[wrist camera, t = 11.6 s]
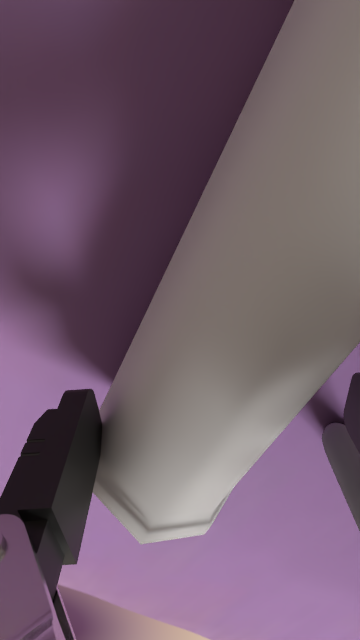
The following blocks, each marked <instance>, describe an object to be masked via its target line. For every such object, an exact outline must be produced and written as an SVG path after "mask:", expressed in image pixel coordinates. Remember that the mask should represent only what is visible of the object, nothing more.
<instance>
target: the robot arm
mask: <svg viewBox="0 0 360 640" xmlns="http://www.w3.org/2000/svg"><path fill="white" fill-rule="evenodd" d="M344 422H345V426H346V429H347V432H348V434H349V435H350V437H351V439H352V441H353V443H354V445H355V446H356V448H357V450H358V452H359V454H360V373H355V374H354V375H353V376H352V379H351V383H350V388H349V392H348V396H347V400H346V404H345V409H344ZM101 440H102V421H101V417H100V413H99V409H98V405H97V402H96V398H95V394H94V391H93V390H92V389H81V390H67V391H65V392H64V394H63V396H62V399H61V401H60V404H59V406H58V409H48V410H47V411H46V412H45V413H44V414H43V415H42V416H41V417H40V418H39V419H38V420H37V421H36V422H35V423H34V425H33V428H32V430H31V432H30V434H29V436H28V439H27V443H25V445H24V447H23V449H22V452H21V457H19V458H18V460H17V463H16V465H15V467H14V469H13V471H12V473H11V476H10V478H9V480H8V482H7V484H6V487H5V489H4V491H3V493H2V495H1V497H0V640H76V638H75V635H74V632H73V629H72V626H71V623H70V620H69V617H68V614H67V612H66V609H65V606H64V603H63V600H62V597H61V594H60V591H59V588H58V586H57V584H58V580H59V576H60V572H61V568H62V565H69V564H77V560H78V556H79V551H80V547H81V542H82V538H83V533H84V528H85V524H86V519H87V515H88V510H89V506H90V501H91V497H92V492H93V487H94V483H95V478H96V474H97V469H98V465H99V460H100V456H101Z"/></svg>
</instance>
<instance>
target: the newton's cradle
mask: <svg viewBox="0 0 360 640" xmlns="http://www.w3.org/2000/svg"><path fill="white" fill-rule="evenodd" d="M322 442H323V446H324V449H325V452H326V455H327V457H328V460H329V462H330V465H331V467H332V469H333V471H334V474H335V476H336V478H337V481H338V483H339V485H340V487H341V490H342V492H343V494H344V496H345V499H346V501H347V503H348V506H349V508H350V510H351V512H352V515H353V517H354V519H355V521H356V524H357V526H358V528H359V531H360V454H359V452H358V450H357V448H356V446H355V445H354V443H353V441H352V439H351V437H350V435H349V434H348V432H347V429H346V426H345V425H343V424H341V423H331V424H329V425H328V426H327V427H326V428H325V429H324V432H323V434H322Z"/></svg>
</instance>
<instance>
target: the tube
mask: <svg viewBox="0 0 360 640" xmlns="http://www.w3.org/2000/svg"><path fill="white" fill-rule="evenodd" d="M359 342H360V0H294V2H293V4H292V7H291V9H290V11H289V13H288V15H287V17H286V19H285V21H284V23H283V25H282V28H281V30H280V32H279V34H278V36H277V38H276V40H275V42H274V44H273V46H272V49H271V51H270V53H269V55H268V57H267V59H266V61H265V63H264V65H263V67H262V70H261V72H260V74H259V76H258V78H257V80H256V82H255V84H254V86H253V88H252V91H251V93H250V95H249V97H248V99H247V101H246V103H245V105H244V107H243V110H242V112H241V114H240V116H239V118H238V120H237V122H236V124H235V126H234V128H233V131H232V133H231V135H230V137H229V139H228V141H227V143H226V145H225V147H224V149H223V152H222V154H221V156H220V158H219V160H218V162H217V164H216V166H215V168H214V170H213V173H212V175H211V177H210V179H209V181H208V183H207V185H206V187H205V189H204V191H203V194H202V196H201V198H200V200H199V202H198V204H197V206H196V208H195V210H194V212H193V215H192V217H191V219H190V221H189V223H188V225H187V227H186V229H185V231H184V234H183V236H182V238H181V240H180V242H179V244H178V246H177V248H176V250H175V252H174V255H173V257H172V259H171V261H170V263H169V265H168V267H167V269H166V271H165V273H164V276H163V278H162V280H161V282H160V284H159V286H158V288H157V290H156V292H155V294H154V297H153V299H152V301H151V303H150V305H149V307H148V309H147V311H146V313H145V315H144V318H143V320H142V322H141V324H140V326H139V328H138V330H137V332H136V334H135V337H134V339H133V341H132V343H131V345H130V347H129V349H128V351H127V353H126V355H125V358H124V360H123V362H122V364H121V366H120V368H119V370H118V372H117V374H116V376H115V379H114V381H113V383H112V385H111V387H110V389H109V391H108V393H107V395H106V397H105V400H104V402H103V404H102V406H101V408H100V410H99V413H100V417H101V421H102V440H101V456H100V460H99V465H98V469H97V474H96V478H95V483H94V487H93V493H94V494H95V495H96V496H97V497H98V499H99V500H100V501H101V502H102V503H103V504H104V505H105V506H106V507H107V508H108V509H109V510H110V511H111V513H112V514H113V515H114V516H115V517H116V518H117V519H118V520H119V521H120V522H121V523H122V524H123V526H124V527H125V528H126V529H127V530H128V531H129V532H130V533H131V534H132V535H133V536H134V537H135V538H136V540H137V541H138V542H139V543H140V544H146V543H152V542H159V541H165V540H172V539H178V538H185V537H191V536H198V535H204V534H205V533H206V531H207V530H208V529H209V528H210V527H211V525H212V523H213V522H214V520H215V518H216V517H217V515H218V513H219V512H220V510H221V508H222V506H223V505H224V503H225V501H226V500H227V498H228V496H229V495H230V493H231V491H232V490H233V488H234V486H235V485H236V484H237V483H238V482H239V481H240V479H241V478H242V477H243V476H244V475H245V474H246V473H247V471H248V470H249V469H250V468H251V467H252V466H253V464H254V463H255V462H256V461H257V460H258V459H259V458H260V456H261V455H262V454H263V453H264V452H265V451H266V450H267V448H268V447H269V446H270V445H271V444H272V443H273V441H274V440H275V439H276V438H277V437H278V436H279V435H280V433H281V432H282V431H283V430H284V429H285V428H286V426H287V425H288V424H289V423H290V422H291V421H292V420H293V418H294V417H295V416H296V415H297V414H298V413H299V411H300V410H301V409H302V408H303V407H304V406H305V405H306V403H307V402H308V401H309V400H310V399H311V398H312V397H313V395H314V394H315V393H316V392H317V391H318V390H319V388H320V387H321V386H322V385H323V384H324V383H325V382H326V380H327V379H328V378H329V377H330V376H331V375H332V373H333V372H334V371H335V370H336V369H337V368H338V367H339V365H340V364H341V363H342V362H343V361H344V360H345V359H346V357H347V356H348V355H349V354H350V353H351V352H352V350H353V349H354V348H355V347H356V346H357V345H358V344H359Z"/></svg>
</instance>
